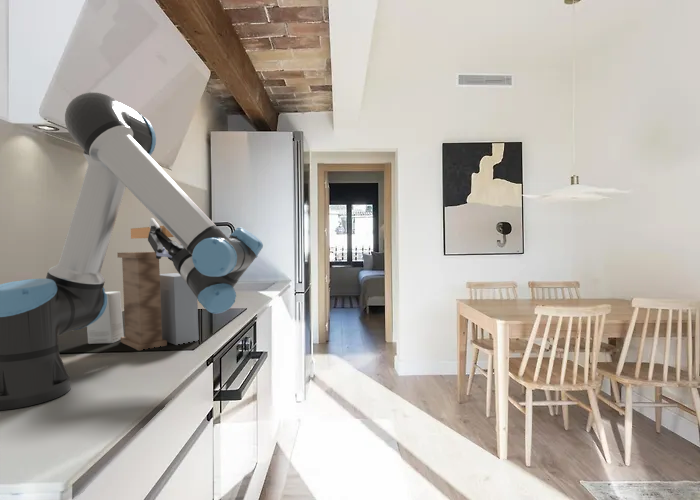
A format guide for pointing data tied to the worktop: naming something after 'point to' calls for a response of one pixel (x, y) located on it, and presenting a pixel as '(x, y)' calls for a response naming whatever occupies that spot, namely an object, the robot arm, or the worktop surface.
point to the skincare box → (108, 322)
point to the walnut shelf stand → (142, 300)
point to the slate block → (178, 310)
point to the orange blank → (147, 232)
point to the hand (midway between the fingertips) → (160, 222)
